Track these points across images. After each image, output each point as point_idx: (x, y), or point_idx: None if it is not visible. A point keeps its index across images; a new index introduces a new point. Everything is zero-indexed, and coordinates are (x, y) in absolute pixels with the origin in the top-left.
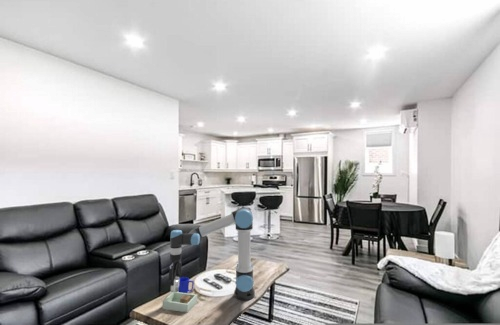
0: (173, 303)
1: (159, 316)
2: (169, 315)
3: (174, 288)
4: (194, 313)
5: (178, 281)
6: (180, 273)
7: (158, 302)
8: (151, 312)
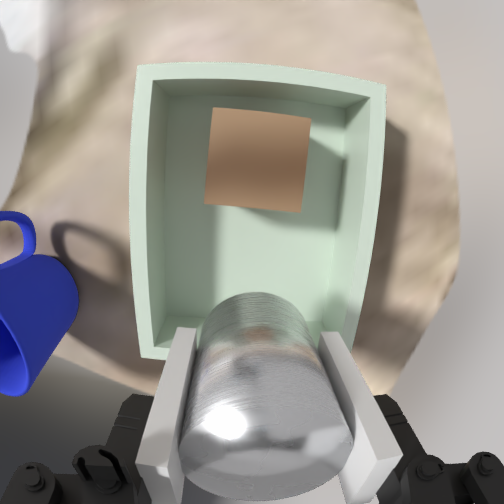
0: (369, 250)
1: (422, 291)
2: (411, 229)
3: (343, 347)
4: (352, 43)
5: (259, 390)
6: (51, 497)
7: None
8: (377, 364)
